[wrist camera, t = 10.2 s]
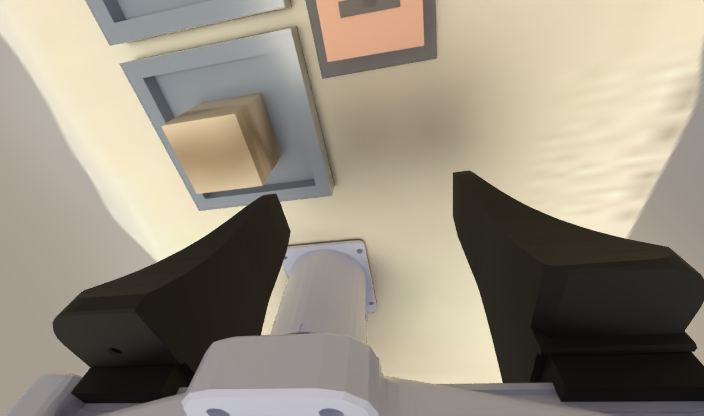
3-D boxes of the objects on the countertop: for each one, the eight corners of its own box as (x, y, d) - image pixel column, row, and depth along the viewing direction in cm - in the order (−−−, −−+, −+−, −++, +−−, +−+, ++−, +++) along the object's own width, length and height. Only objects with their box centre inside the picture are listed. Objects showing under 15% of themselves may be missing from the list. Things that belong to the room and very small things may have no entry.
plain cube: (281, 155, 23) (262, 185, 19) (225, 163, 23) (196, 193, 20) (261, 92, 20) (234, 113, 17) (199, 103, 21) (160, 126, 17)
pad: (435, 56, 19) (436, 58, 18) (323, 76, 20) (322, 78, 19) (431, -101, 15) (432, -105, 14) (293, -66, 16) (290, -68, 16)
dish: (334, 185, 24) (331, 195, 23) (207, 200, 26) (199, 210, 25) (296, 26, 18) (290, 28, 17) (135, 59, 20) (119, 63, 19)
